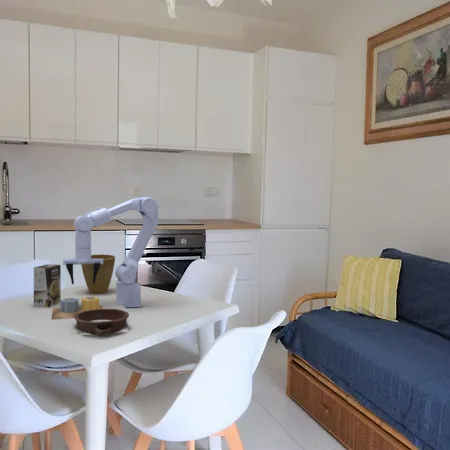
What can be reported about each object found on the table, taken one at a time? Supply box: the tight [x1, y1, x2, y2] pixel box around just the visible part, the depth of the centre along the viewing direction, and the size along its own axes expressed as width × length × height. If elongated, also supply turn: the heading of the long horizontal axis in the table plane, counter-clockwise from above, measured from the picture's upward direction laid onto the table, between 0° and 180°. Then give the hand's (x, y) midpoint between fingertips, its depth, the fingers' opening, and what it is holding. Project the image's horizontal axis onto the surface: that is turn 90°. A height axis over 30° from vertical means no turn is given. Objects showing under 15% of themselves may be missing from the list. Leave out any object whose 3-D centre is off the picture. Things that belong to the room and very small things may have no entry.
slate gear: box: [60, 297, 79, 313], centre depth 177 cm, size 6×6×4 cm
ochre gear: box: [81, 296, 100, 311], centre depth 179 cm, size 6×6×4 cm
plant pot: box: [80, 253, 116, 295], centre depth 213 cm, size 15×15×16 cm
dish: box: [73, 308, 130, 337], centre depth 159 cm, size 18×22×5 cm
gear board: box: [50, 296, 104, 320], centre depth 175 cm, size 18×16×6 cm
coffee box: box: [33, 264, 62, 309], centre depth 185 cm, size 9×6×16 cm
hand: (83, 283), depth 183 cm, fingers open, 7 cm apart
